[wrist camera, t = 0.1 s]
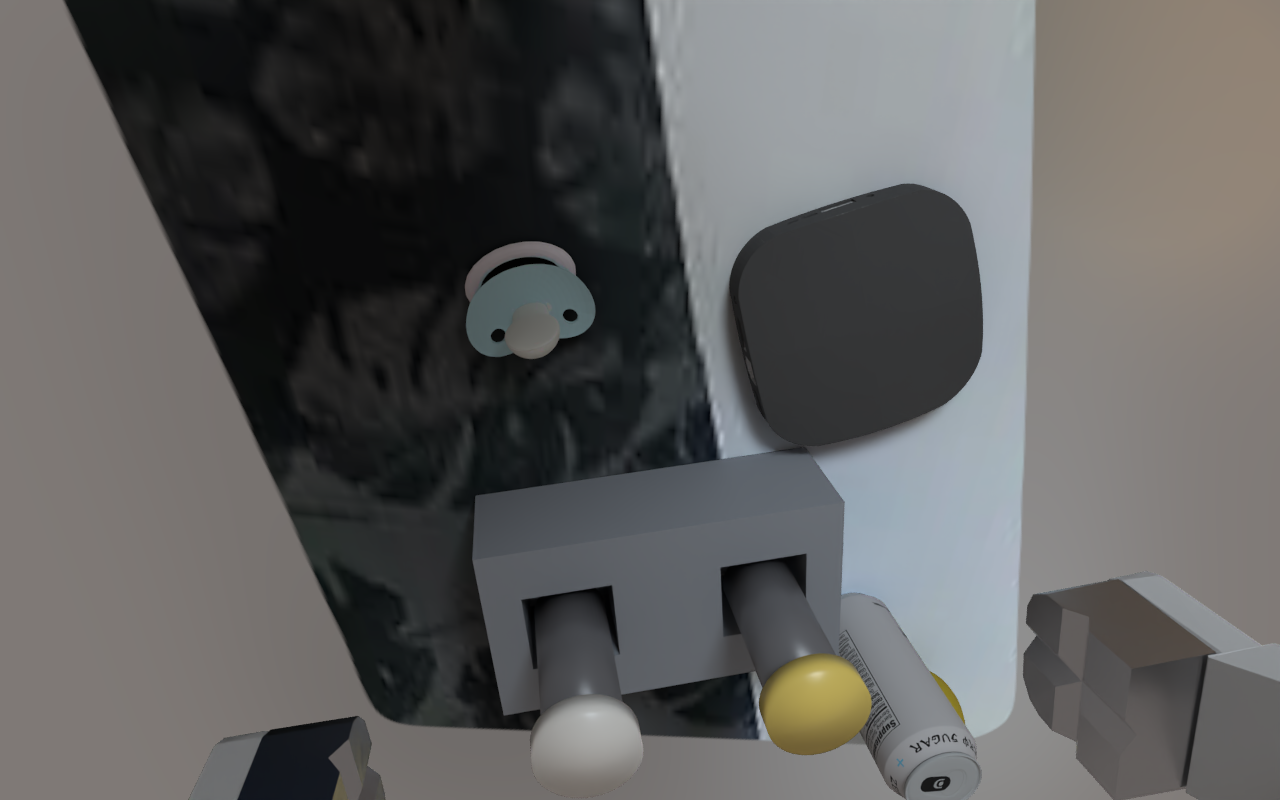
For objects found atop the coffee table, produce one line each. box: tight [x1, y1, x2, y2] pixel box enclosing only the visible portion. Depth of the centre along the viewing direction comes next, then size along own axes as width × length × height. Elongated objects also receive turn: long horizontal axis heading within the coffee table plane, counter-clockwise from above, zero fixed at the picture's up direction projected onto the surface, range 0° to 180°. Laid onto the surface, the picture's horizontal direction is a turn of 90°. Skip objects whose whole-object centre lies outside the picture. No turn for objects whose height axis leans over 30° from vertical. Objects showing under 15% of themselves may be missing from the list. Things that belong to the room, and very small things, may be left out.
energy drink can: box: [839, 593, 982, 800], centre depth 55 cm, size 6×6×15 cm
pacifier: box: [465, 242, 595, 359], centre depth 45 cm, size 7×6×6 cm
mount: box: [472, 447, 845, 715], centre depth 53 cm, size 12×22×7 cm, turn 95°
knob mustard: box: [723, 557, 872, 755], centre depth 47 cm, size 6×6×11 cm
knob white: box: [530, 588, 643, 798], centre depth 46 cm, size 6×6×11 cm
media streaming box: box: [730, 184, 983, 446], centre depth 50 cm, size 15×15×3 cm
